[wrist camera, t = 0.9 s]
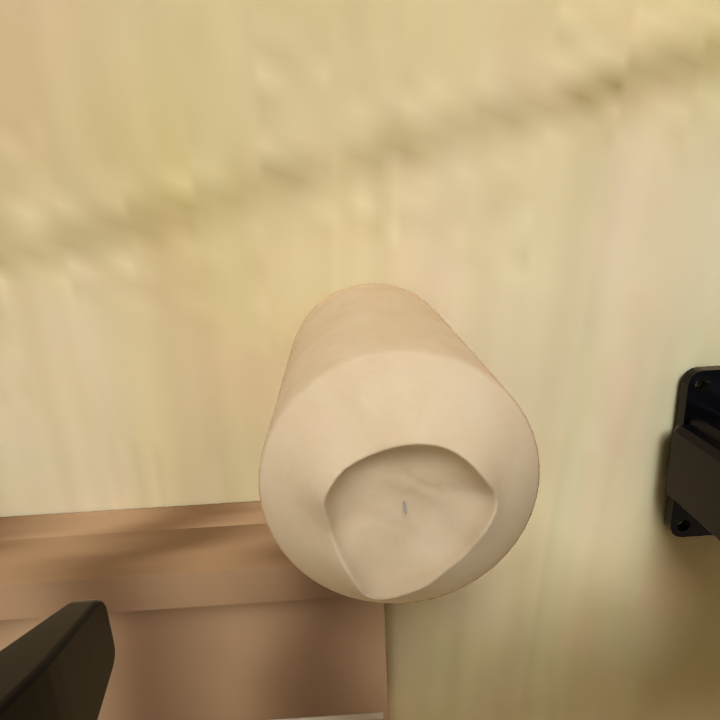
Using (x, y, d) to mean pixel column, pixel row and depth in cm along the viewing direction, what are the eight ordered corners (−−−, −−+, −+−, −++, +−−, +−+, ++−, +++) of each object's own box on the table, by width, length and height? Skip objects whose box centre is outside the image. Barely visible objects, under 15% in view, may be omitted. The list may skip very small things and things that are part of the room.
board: (377, 493, 20) (387, 559, 17) (385, 689, 23) (395, 784, 19) (-70, 521, 20) (-163, 596, 16) (-12, 718, 23) (-81, 822, 19)
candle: (399, 462, 20) (458, 701, 11) (262, 392, 19) (191, 585, 10) (483, 332, 19) (635, 469, 9) (341, 250, 18) (349, 310, 8)
